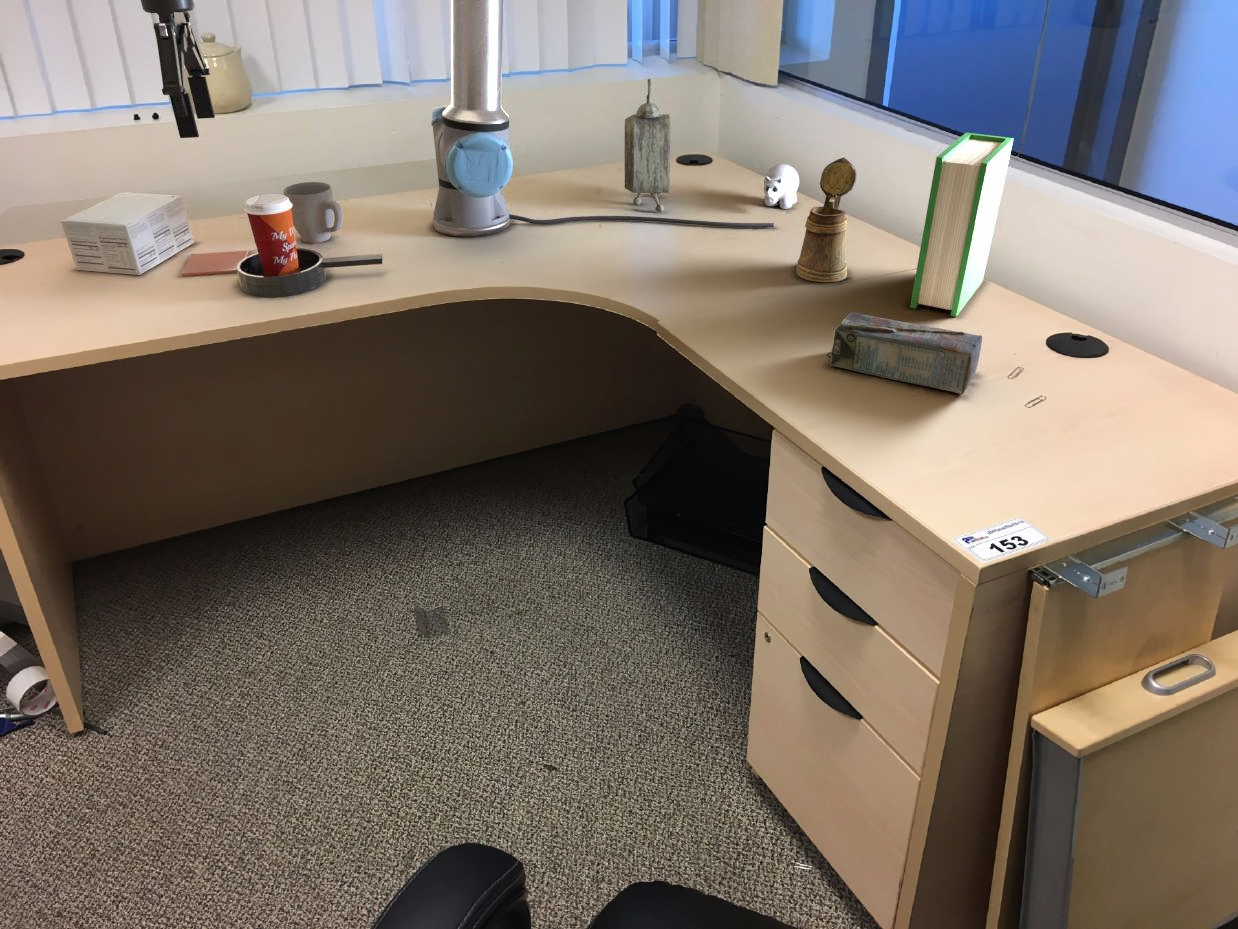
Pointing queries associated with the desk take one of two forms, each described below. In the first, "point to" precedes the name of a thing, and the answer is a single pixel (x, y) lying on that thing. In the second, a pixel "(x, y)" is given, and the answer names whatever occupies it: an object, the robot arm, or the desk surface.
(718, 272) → the desk surface
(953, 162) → the hardback book
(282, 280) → the pan
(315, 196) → the mug
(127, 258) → the supplement box
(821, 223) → the wooden mug
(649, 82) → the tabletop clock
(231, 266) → the coaster
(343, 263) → the pan handle
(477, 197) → the robot arm
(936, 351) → the beverage carton
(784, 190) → the chubby cartoon animal
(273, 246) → the paper cup
